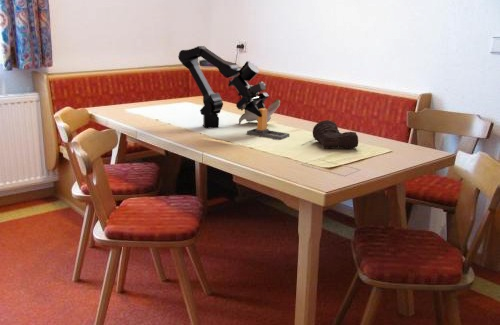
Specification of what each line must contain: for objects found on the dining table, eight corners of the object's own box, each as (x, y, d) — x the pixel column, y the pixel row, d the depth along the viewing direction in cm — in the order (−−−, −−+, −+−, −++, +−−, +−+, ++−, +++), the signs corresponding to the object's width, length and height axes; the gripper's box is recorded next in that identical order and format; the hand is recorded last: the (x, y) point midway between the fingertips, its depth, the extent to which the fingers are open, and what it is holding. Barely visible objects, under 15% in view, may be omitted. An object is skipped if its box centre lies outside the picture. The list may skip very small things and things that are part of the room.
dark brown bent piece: (360, 132, 190) (347, 118, 203) (323, 135, 188) (312, 120, 201) (358, 154, 195) (345, 139, 208) (322, 157, 192) (311, 142, 206)
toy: (237, 126, 232) (278, 127, 228) (236, 94, 228) (278, 95, 224) (241, 122, 240) (281, 124, 236) (240, 91, 236) (281, 92, 232)
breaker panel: (243, 136, 211) (243, 131, 210) (257, 131, 220) (257, 127, 220) (279, 142, 201) (279, 138, 201) (292, 137, 211) (292, 132, 211)
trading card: (344, 175, 160) (301, 164, 172) (344, 177, 160) (300, 165, 172) (360, 169, 168) (318, 158, 179) (360, 170, 168) (318, 160, 180)
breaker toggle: (255, 134, 211) (255, 109, 208) (260, 132, 215) (261, 107, 212) (263, 135, 209) (263, 110, 206) (268, 133, 213) (269, 108, 210)
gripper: (242, 77, 200) (264, 107, 197) (265, 74, 215) (286, 101, 213) (226, 94, 206) (247, 123, 204) (250, 90, 221) (270, 116, 219)
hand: (263, 115), depth 210 cm, fingers closed on breaker toggle, 4 cm apart
